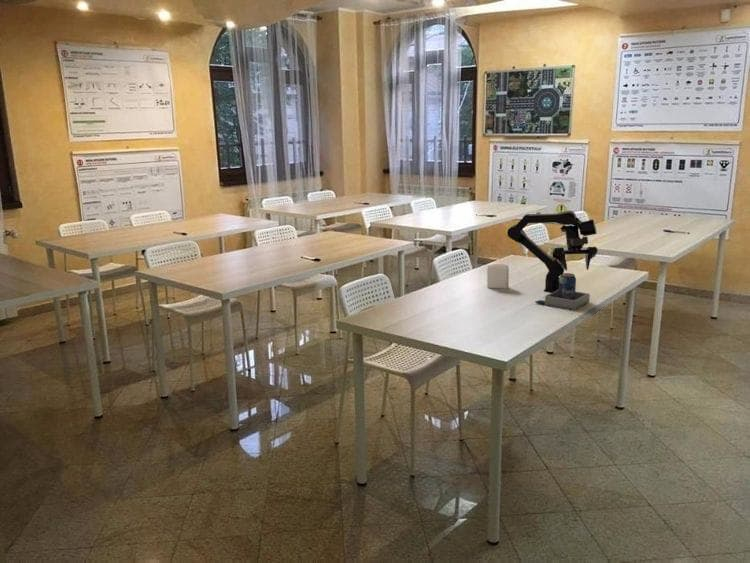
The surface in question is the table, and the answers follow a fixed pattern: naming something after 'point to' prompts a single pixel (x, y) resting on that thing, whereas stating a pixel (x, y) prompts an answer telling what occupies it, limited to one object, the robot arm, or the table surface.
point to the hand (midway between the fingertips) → (577, 269)
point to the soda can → (567, 286)
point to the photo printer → (498, 275)
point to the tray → (567, 300)
